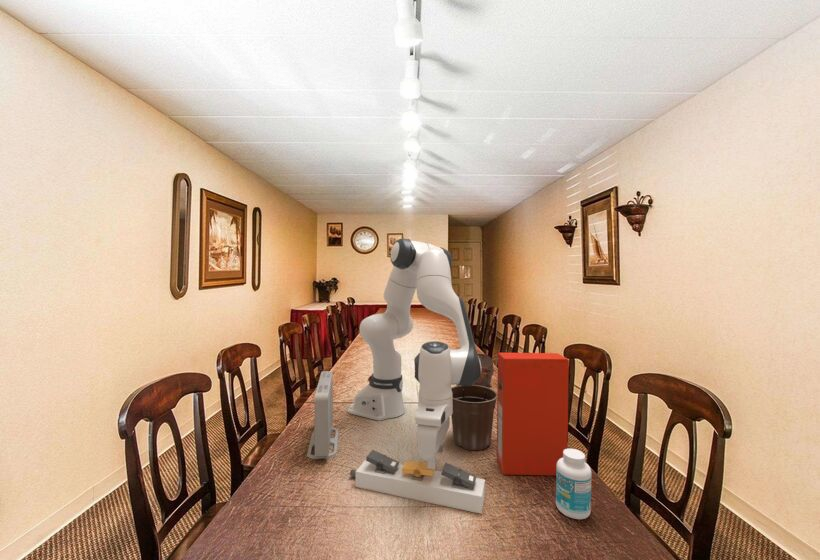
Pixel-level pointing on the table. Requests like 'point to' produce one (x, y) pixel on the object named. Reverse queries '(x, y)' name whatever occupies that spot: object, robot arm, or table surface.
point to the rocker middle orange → (417, 468)
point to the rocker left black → (382, 461)
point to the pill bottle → (573, 485)
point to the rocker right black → (459, 476)
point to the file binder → (531, 412)
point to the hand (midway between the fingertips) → (435, 459)
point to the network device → (323, 419)
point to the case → (485, 371)
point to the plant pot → (473, 416)
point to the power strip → (421, 487)
